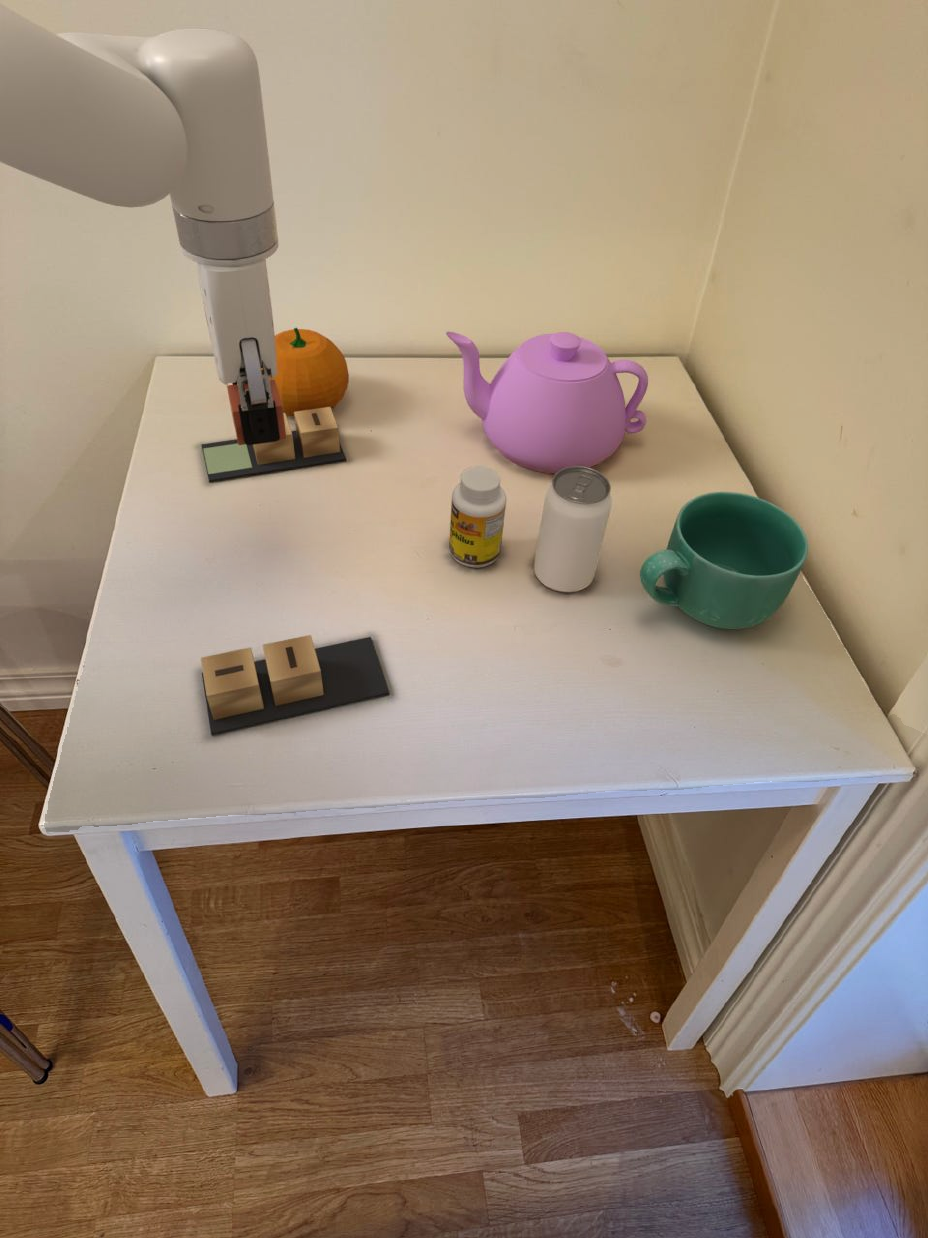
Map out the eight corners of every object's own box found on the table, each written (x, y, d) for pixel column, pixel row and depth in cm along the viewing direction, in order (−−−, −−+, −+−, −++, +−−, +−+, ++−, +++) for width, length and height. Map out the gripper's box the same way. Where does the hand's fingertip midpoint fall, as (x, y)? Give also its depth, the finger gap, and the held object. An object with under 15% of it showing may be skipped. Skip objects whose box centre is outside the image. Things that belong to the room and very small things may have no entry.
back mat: (209, 482, 95) (208, 479, 95) (202, 446, 99) (201, 443, 99) (346, 461, 99) (346, 457, 98) (333, 427, 103) (333, 424, 103)
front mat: (211, 736, 72) (211, 733, 72) (202, 675, 77) (201, 672, 76) (389, 694, 76) (389, 692, 76) (370, 639, 80) (370, 636, 80)
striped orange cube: (238, 445, 76) (232, 411, 73) (232, 418, 79) (226, 384, 76) (286, 439, 77) (282, 405, 74) (279, 412, 80) (274, 378, 77)
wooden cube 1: (213, 720, 73) (206, 695, 70) (207, 682, 76) (200, 656, 73) (264, 709, 74) (258, 684, 71) (256, 671, 77) (250, 646, 74)
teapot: (632, 403, 110) (655, 305, 100) (648, 487, 98) (676, 387, 88) (445, 392, 110) (448, 293, 100) (439, 476, 98) (442, 373, 88)
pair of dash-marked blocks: (257, 465, 97) (253, 439, 94) (252, 443, 100) (247, 417, 97) (340, 452, 99) (338, 426, 97) (332, 431, 102) (330, 405, 99)
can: (524, 583, 87) (538, 493, 78) (544, 545, 91) (560, 456, 82) (583, 602, 85) (604, 514, 76) (601, 563, 89) (623, 474, 80)
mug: (739, 549, 92) (767, 482, 85) (799, 632, 84) (835, 566, 77) (602, 574, 88) (618, 505, 81) (651, 663, 80) (675, 596, 73)
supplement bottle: (438, 547, 90) (441, 472, 82) (479, 528, 92) (485, 453, 84) (469, 577, 87) (475, 502, 79) (510, 557, 89) (520, 482, 82)
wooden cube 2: (275, 706, 74) (270, 681, 71) (267, 669, 77) (262, 643, 74) (324, 695, 75) (320, 670, 72) (314, 659, 78) (310, 633, 75)
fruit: (238, 405, 105) (225, 333, 98) (299, 366, 112) (292, 295, 105) (309, 439, 101) (302, 366, 94) (368, 396, 108) (365, 325, 101)
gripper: (168, 186, 68) (207, 381, 82) (186, 281, 58) (228, 487, 71) (260, 180, 70) (284, 372, 84) (294, 271, 59) (315, 474, 73)
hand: (258, 423), depth 77 cm, fingers closed on striped orange cube, 4 cm apart
